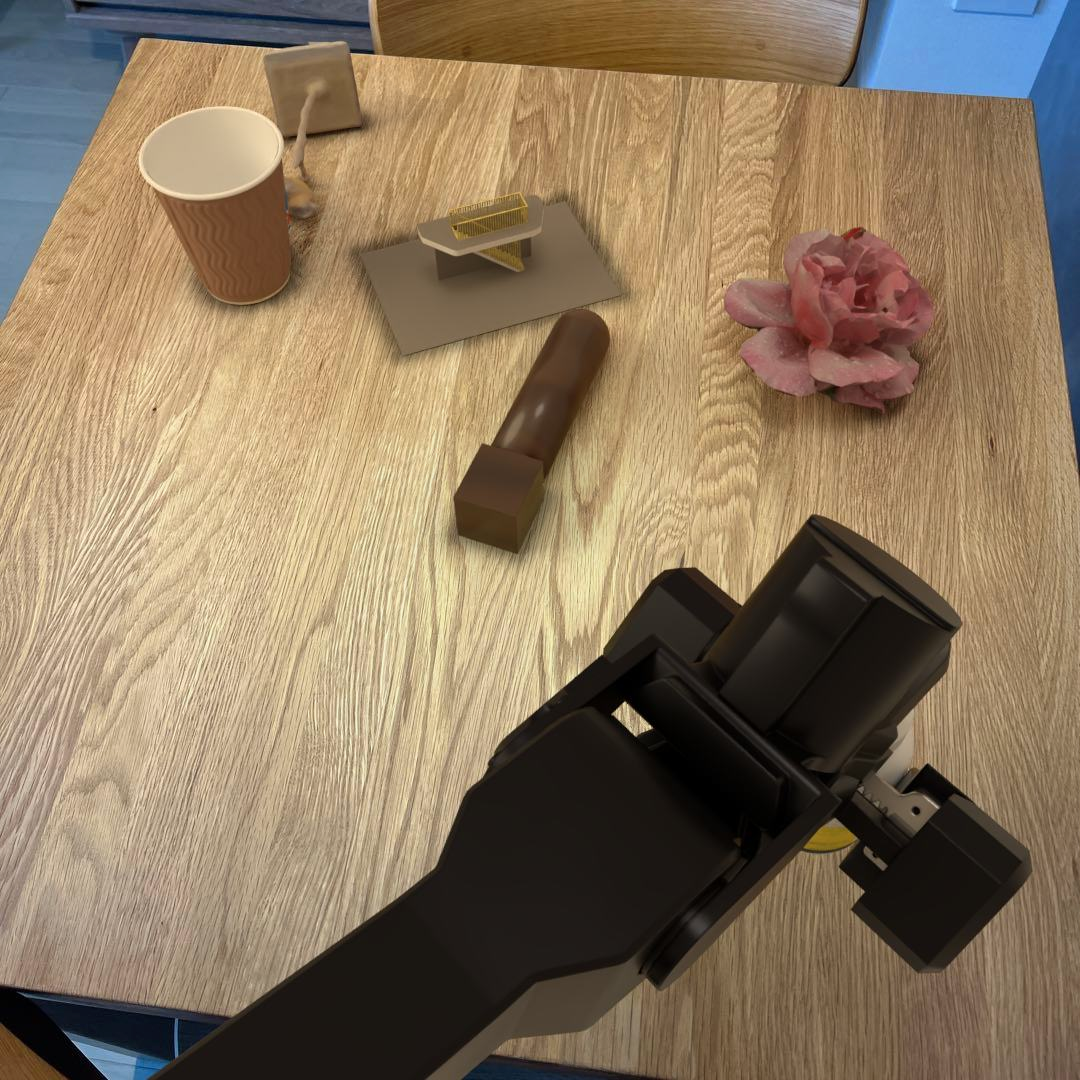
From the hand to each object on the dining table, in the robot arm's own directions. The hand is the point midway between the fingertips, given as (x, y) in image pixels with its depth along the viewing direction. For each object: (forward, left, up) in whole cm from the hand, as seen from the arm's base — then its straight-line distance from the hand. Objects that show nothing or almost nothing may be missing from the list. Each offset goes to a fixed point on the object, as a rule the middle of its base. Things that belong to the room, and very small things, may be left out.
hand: (854, 728), depth 55 cm
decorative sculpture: (+41, +56, -14) cm, 71 cm away
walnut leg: (+22, +25, -13) cm, 35 cm away
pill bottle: (-1, +1, -7) cm, 7 cm away
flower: (+35, +8, -14) cm, 39 cm away
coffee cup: (+28, +53, -14) cm, 61 cm away
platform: (+35, +35, -14) cm, 51 cm away
